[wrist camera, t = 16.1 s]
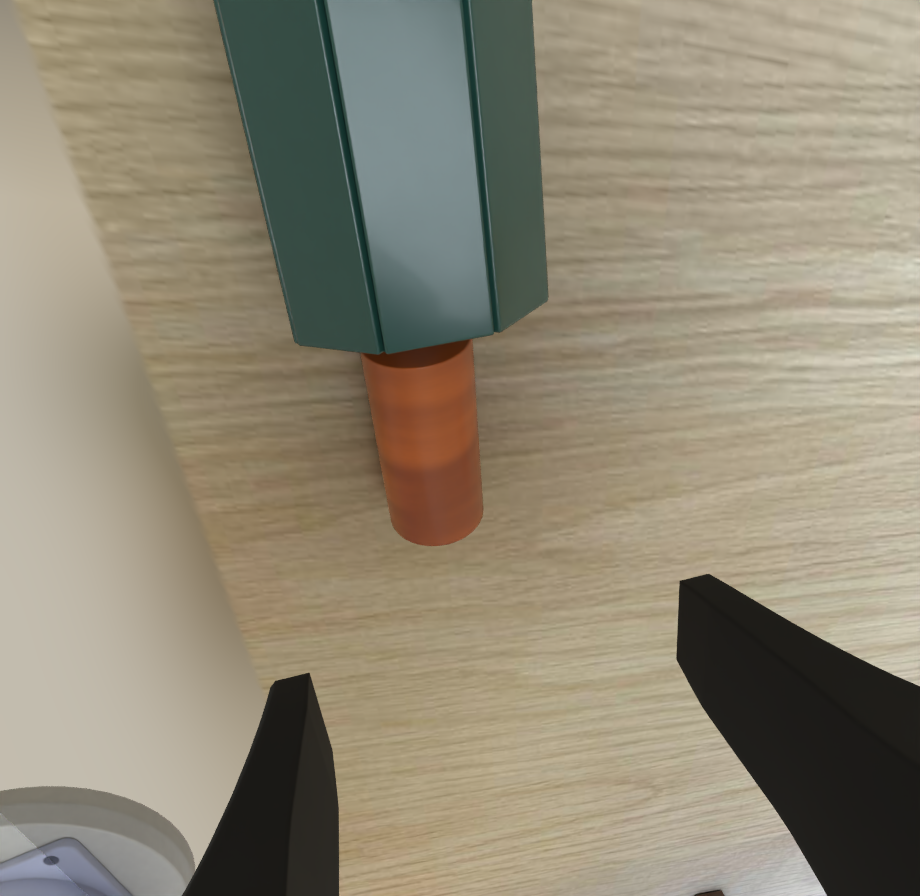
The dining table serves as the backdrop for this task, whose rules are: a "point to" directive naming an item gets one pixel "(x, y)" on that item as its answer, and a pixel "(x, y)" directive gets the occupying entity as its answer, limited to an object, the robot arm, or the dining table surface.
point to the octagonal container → (394, 164)
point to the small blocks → (712, 894)
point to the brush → (428, 440)
